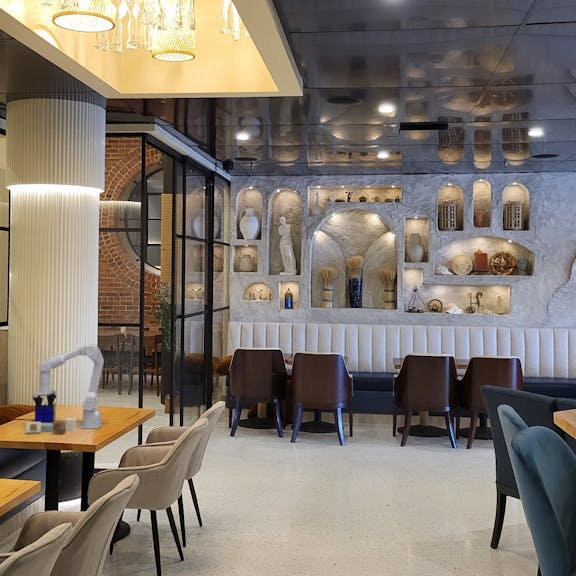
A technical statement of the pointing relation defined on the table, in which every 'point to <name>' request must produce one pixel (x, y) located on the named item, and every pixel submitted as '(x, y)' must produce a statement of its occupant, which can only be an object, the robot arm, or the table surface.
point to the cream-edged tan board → (33, 427)
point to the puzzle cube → (45, 413)
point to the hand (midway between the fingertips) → (44, 409)
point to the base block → (46, 427)
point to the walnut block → (59, 427)
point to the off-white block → (70, 424)
